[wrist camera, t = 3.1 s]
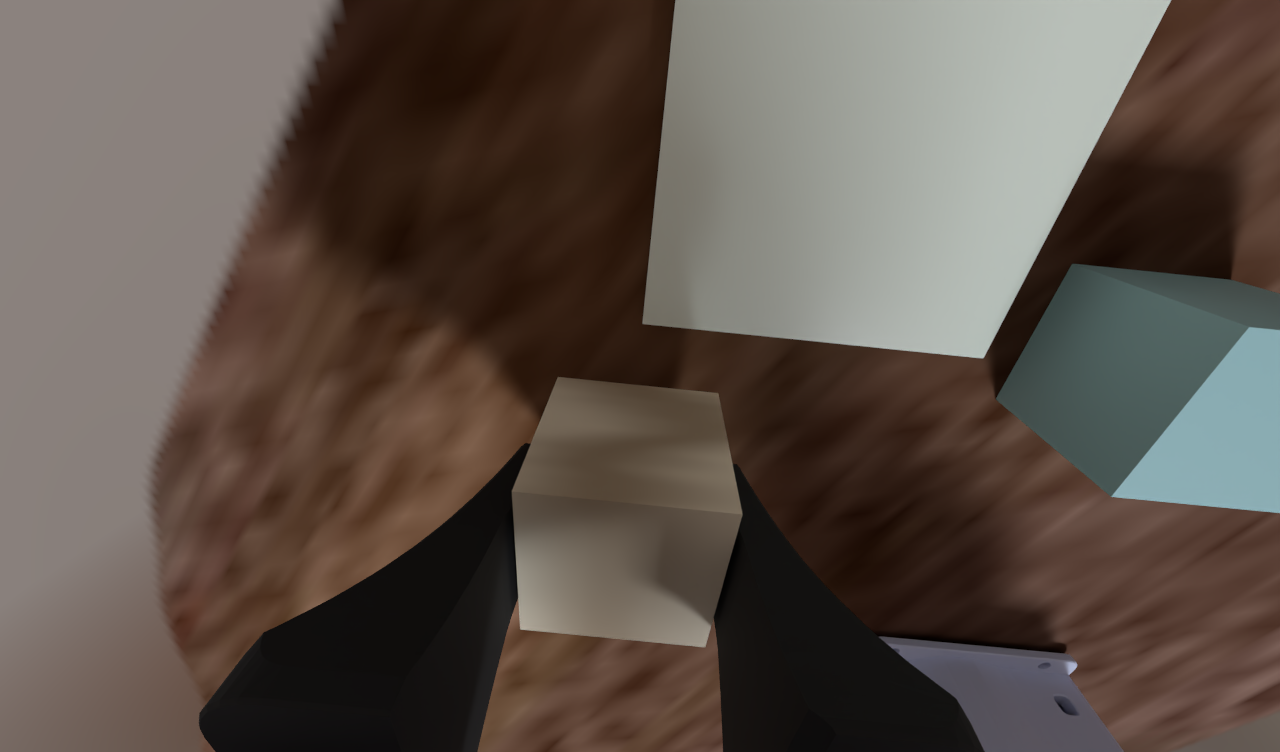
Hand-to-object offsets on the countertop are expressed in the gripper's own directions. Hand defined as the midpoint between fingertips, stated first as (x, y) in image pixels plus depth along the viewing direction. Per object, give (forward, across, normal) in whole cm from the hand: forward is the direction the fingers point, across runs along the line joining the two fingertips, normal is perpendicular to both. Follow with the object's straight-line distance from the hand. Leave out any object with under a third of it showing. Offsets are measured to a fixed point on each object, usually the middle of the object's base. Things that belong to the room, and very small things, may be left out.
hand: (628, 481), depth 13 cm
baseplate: (+3, -5, -9) cm, 10 cm away
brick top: (+4, -14, -4) cm, 15 cm away
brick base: (+2, 0, 0) cm, 2 cm away
